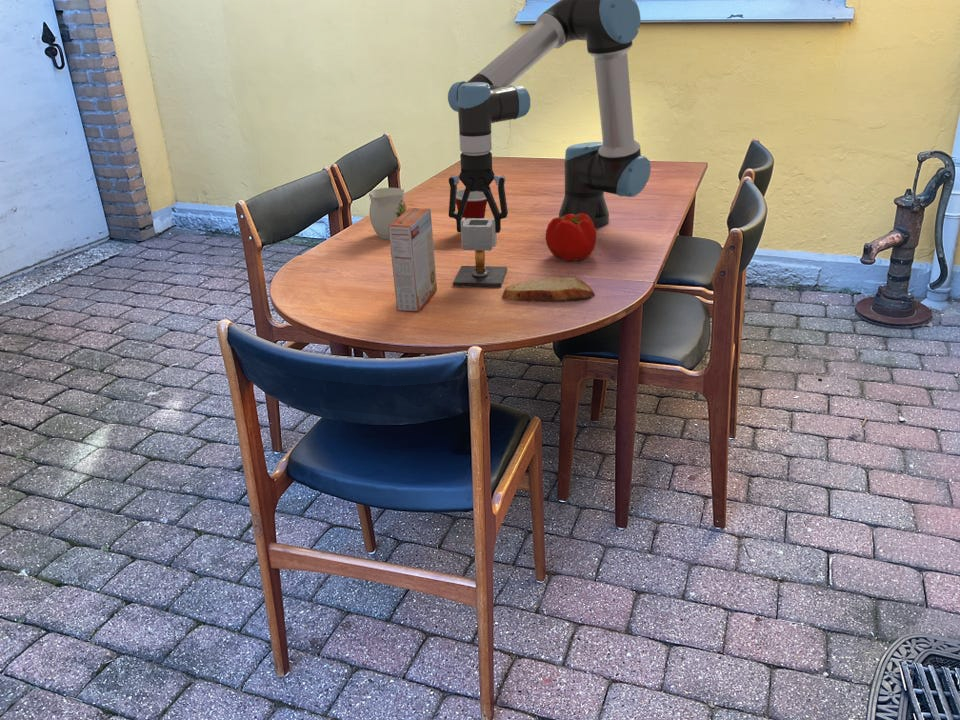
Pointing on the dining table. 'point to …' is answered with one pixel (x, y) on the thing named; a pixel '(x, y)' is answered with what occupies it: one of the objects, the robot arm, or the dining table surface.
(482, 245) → the hollow gray block
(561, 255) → the tomato
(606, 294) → the dining table surface
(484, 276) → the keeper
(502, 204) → the robot arm
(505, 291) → the bread slice
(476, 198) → the plastic cup
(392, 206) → the pitcher
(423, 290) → the cracker box
